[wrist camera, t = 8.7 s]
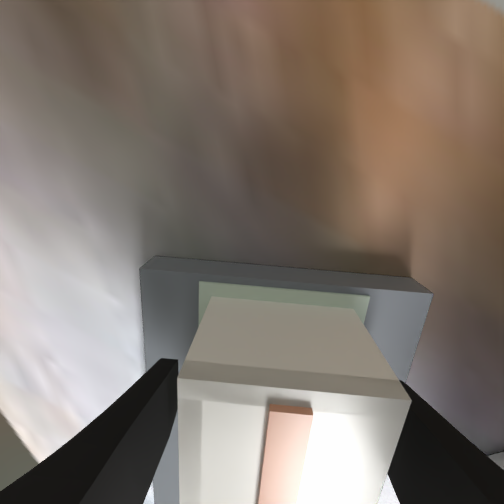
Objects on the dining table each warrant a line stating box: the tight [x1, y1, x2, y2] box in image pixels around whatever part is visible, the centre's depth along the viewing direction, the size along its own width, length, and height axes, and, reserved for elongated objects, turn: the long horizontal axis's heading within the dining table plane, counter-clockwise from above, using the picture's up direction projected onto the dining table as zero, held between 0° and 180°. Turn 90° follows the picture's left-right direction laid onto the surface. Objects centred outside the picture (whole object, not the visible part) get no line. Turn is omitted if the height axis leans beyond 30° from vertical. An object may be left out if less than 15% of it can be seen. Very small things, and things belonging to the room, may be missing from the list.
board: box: [139, 256, 433, 504], centre depth 13 cm, size 11×16×2 cm
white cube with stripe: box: [177, 296, 412, 504], centre depth 9 cm, size 5×5×4 cm
